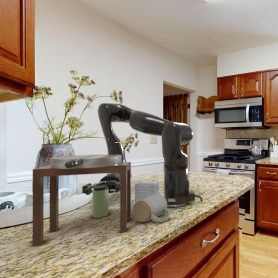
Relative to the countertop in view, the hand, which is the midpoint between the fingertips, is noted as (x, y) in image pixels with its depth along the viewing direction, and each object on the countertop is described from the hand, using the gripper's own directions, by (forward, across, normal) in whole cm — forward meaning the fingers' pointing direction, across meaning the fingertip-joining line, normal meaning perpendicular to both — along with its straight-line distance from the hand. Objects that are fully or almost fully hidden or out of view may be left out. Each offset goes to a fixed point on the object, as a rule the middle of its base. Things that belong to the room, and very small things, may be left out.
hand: (102, 191), depth 73 cm
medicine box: (-6, +14, +8) cm, 17 cm away
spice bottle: (+2, 0, +8) cm, 8 cm away
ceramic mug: (+13, +17, +8) cm, 23 cm away
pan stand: (+18, 0, +8) cm, 20 cm away
